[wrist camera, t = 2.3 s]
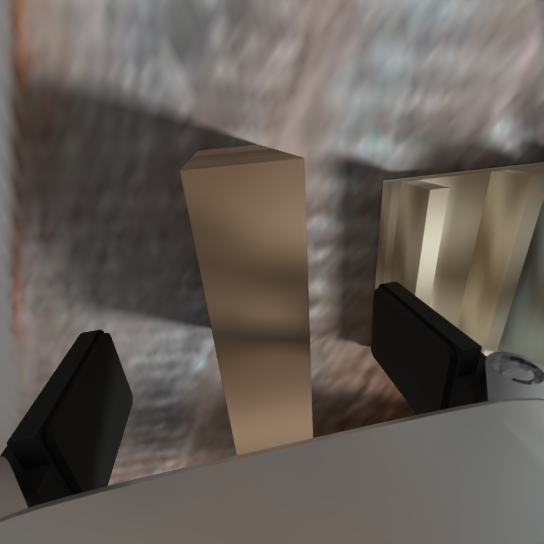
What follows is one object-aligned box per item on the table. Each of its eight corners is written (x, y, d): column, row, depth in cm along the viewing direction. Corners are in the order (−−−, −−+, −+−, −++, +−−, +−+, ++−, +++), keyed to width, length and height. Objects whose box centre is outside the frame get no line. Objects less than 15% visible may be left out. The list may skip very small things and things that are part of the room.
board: (198, 150, 15) (180, 170, 7) (257, 144, 16) (304, 158, 7) (228, 330, 20) (238, 465, 12) (273, 322, 20) (313, 448, 12)
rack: (383, 180, 17) (458, 202, 12) (578, 157, 19) (723, 168, 14) (370, 347, 22) (419, 414, 17) (525, 318, 24) (614, 372, 19)
